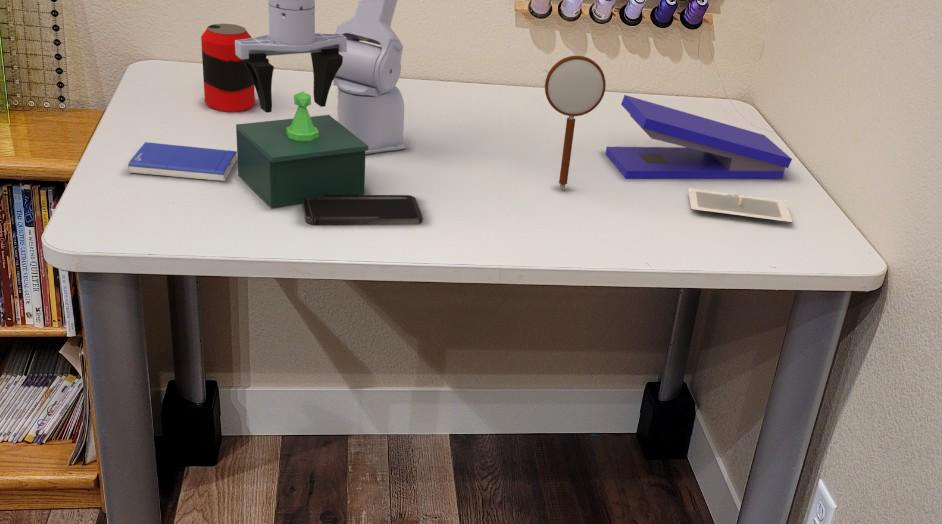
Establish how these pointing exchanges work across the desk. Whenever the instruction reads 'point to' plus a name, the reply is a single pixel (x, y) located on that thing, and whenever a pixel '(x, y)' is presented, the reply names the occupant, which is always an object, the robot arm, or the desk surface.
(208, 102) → the soda can
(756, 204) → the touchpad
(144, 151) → the hard drive
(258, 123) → the bin lid
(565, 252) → the desk surface
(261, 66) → the robot arm
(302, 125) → the game piece
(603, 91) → the magnifying glass
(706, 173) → the stapler
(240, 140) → the bin
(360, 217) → the phone
